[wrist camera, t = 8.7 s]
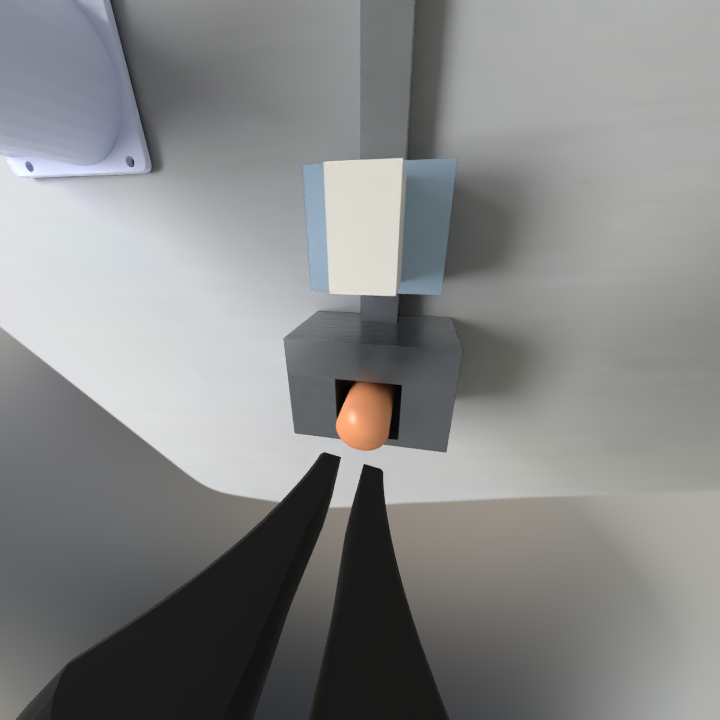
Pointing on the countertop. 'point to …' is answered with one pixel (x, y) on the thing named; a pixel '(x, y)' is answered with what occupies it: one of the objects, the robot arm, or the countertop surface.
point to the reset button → (366, 415)
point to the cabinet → (375, 373)
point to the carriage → (378, 225)
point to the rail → (385, 102)
